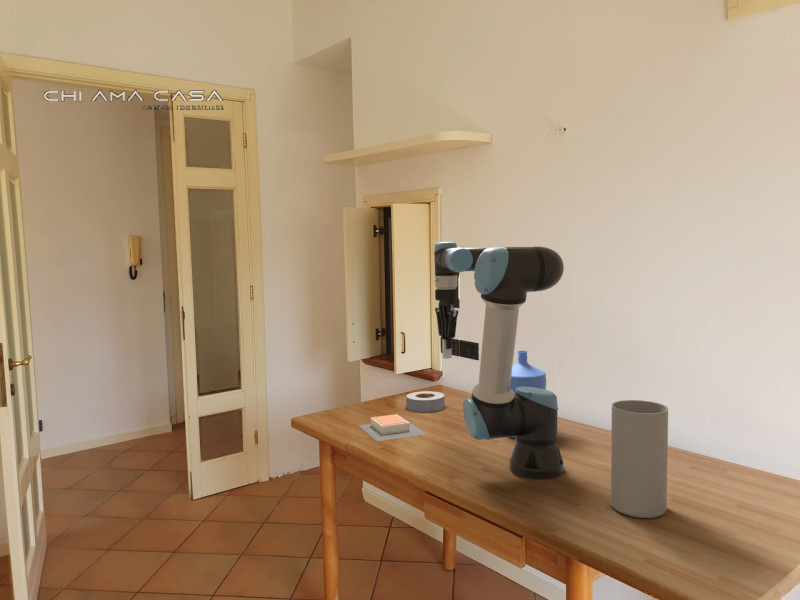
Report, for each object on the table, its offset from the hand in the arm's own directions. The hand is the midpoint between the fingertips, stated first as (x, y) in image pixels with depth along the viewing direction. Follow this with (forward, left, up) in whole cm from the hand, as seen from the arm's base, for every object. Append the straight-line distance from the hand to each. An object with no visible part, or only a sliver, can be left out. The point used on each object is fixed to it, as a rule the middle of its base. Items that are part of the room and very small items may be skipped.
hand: (447, 358), depth 206 cm
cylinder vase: (-72, -15, -27) cm, 78 cm away
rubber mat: (+12, +16, -26) cm, 33 cm away
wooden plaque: (+8, +16, -24) cm, 30 cm away
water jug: (-9, -24, -27) cm, 37 cm away
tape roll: (+36, -8, -27) cm, 46 cm away
